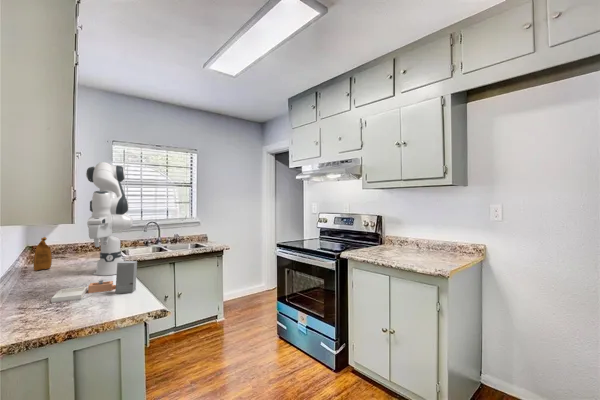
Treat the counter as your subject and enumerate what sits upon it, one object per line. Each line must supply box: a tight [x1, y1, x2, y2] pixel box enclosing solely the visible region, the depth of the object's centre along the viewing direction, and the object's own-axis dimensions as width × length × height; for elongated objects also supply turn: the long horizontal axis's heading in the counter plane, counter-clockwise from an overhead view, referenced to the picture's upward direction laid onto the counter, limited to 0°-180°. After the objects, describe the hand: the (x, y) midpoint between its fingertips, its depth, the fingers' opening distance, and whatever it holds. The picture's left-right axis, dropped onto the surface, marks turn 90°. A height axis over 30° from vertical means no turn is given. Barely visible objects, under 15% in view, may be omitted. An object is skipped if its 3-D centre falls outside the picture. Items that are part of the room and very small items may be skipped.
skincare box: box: [115, 260, 138, 295], centre depth 157 cm, size 8×7×16 cm
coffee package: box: [33, 236, 53, 271], centre depth 210 cm, size 10×12×22 cm
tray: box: [50, 286, 88, 304], centre depth 148 cm, size 16×11×2 cm
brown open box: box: [87, 280, 116, 294], centre depth 160 cm, size 12×7×4 cm, turn 117°
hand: (101, 246), depth 161 cm, fingers open, 8 cm apart
